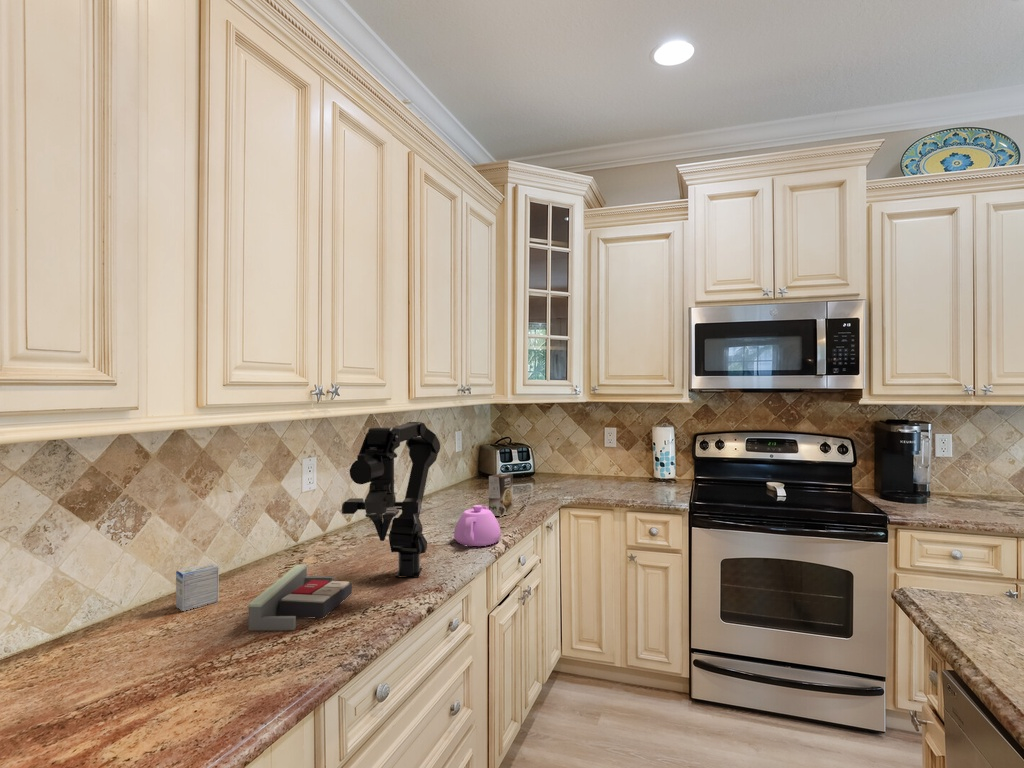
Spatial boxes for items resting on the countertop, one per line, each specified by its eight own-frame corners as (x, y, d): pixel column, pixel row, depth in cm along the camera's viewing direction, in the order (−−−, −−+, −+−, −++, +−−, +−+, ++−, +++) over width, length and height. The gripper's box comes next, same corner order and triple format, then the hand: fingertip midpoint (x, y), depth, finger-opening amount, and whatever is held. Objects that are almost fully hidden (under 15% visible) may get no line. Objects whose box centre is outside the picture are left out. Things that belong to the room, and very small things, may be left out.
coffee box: (501, 517, 215) (501, 477, 215) (488, 516, 219) (488, 475, 219) (513, 513, 223) (513, 473, 223) (500, 511, 226) (500, 472, 227)
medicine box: (211, 597, 133) (211, 562, 133) (219, 602, 130) (219, 565, 130) (175, 607, 127) (175, 570, 127) (182, 612, 124) (182, 574, 124)
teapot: (492, 552, 170) (491, 513, 170) (444, 549, 173) (444, 511, 173) (507, 534, 191) (507, 499, 191) (465, 532, 194) (465, 498, 194)
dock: (296, 586, 141) (296, 564, 141) (333, 585, 141) (333, 564, 141) (248, 630, 115) (248, 604, 115) (293, 630, 115) (293, 603, 115)
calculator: (352, 580, 136) (323, 599, 121) (352, 597, 135) (323, 619, 120) (311, 578, 137) (277, 597, 122) (310, 595, 137) (277, 617, 122)
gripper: (334, 483, 128) (334, 550, 128) (414, 483, 128) (414, 549, 128) (348, 476, 139) (348, 537, 139) (421, 475, 139) (421, 537, 139)
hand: (382, 540), depth 136 cm, fingers closed
